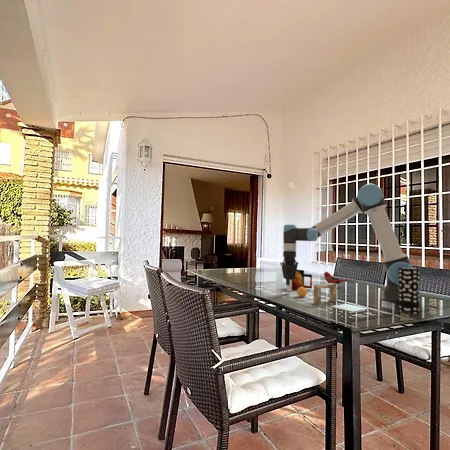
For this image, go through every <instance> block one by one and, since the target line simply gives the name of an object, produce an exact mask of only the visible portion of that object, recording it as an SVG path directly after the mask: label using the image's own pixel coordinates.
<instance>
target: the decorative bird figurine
mask: <svg viewBox="0 0 450 450" xmlns="http://www.w3.org/2000/svg"><path fill="white" fill-rule="evenodd" d="M323 275H324V278H325V281H326V282H327V284H328V283H334V284H337V285H339V284H340V283H342V282H346V281H347V279H340V278H339V277H336V276H334V275H333V274H331V273H330V272H328V271H324V273H323Z"/></svg>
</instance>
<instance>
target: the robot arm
mask: <svg viewBox="0 0 450 450" xmlns="http://www.w3.org/2000/svg"><path fill="white" fill-rule="evenodd" d="M387 206H388V205H387V202H386V200H385V198H384V194H383V190H382V188H381V187H380V186H378V185H377V184H373V183H367V184H364V185H363V186H361V187H360V188H359V189H358V191H357V196H356V197H354V198H352V200H351V202H350V203H348V204H347V205H344V207H342V208H340V209H338V210H337V211H336V212H334V213H332V214H330V215H329V216H327V217H326V218H324V219H322V220H321V221H319V222H317V223H316V224H315V225H313V226H311V227H302V228H301V227H300V228H299V227H297V224H285V225H283V232H282V233H283V244H282V245H283V247H282V248H283V251H282V253H283V254H282V256H283V261H282V262H281V261H280V266H281V272H282V277H283V278H282V279H284V280H285V285H286V291H288V292H292V280H294V279H293V278H295V276H296V270H298V265H299V262H298V261H296V258H297V241H298V242H316V241H317V240H318V238H320V237H321V236H322V237H323V235H325V234H327V233H328V232H330V231H331V230H333V229H334V228H337V227H339V226H340V225H341V224H343V223H345V222H347V221H348V220H350V219H352V218H353V217H355V216H356V215H358V214H365V215H367V216H368V219H369V221H370V224H371V227H372V229H373V231H374V234H375V236H376V239H377V241H378V244H379V247H380V249H381V251H382V254H383V260H382V263H383V265H384V268H385V271H386V284H385V285H386V286H385V289H384V291H383V294H382V300H385V301H388V302H391V303H398V268H399V267H408V268H414V267H413V265H412V261H411V259H410V258H409V257H408V254H406V253H404V252H403V250H402V248H401V245H400V244H399V241H398V239H397V235H396V233H395V231H394V228H393V225H392V224H391V221H390V219H389V216H388V212H387V211H386V208H387Z"/></svg>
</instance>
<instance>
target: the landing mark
mask: <svg viewBox="0 0 450 450" xmlns="http://www.w3.org/2000/svg"><path fill="white" fill-rule="evenodd" d="M331 307H332V308H335V309H339V310H342V311H347V312H352V313H356V312H360V311H366V310H368V308H367V307H362V306H357V305H354V304H349V303H343V304H342V303H341V304H337V305H331V306H330V308H331Z"/></svg>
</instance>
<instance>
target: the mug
mask: <svg viewBox="0 0 450 450" xmlns="http://www.w3.org/2000/svg"><path fill="white" fill-rule="evenodd" d="M305 278H309V285H307V284H306V285H305ZM293 279H294V280H292V289H293V291H297V289H298V288H299V287H304V288H305V289H311V290H312V289H313V275H312V274H311V273H310V274H306V273H305V270H303V269H297V270H296V276H295V278H293Z"/></svg>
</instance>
